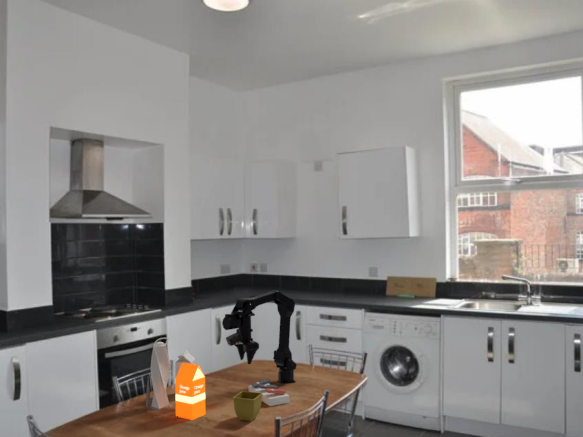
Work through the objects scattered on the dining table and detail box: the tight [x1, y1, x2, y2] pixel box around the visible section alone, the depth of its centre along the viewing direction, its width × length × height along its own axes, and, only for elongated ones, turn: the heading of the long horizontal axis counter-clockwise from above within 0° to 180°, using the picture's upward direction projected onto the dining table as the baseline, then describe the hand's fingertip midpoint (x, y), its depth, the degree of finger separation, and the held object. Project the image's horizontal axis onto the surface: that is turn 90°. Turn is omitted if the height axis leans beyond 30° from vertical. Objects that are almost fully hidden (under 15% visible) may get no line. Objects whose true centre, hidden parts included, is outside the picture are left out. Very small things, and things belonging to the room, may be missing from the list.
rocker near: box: [251, 378, 272, 388], centre depth 235 cm, size 8×4×1 cm, turn 118°
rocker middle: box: [258, 384, 280, 389], centre depth 229 cm, size 8×4×1 cm, turn 118°
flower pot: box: [232, 390, 263, 422], centre depth 203 cm, size 9×9×9 cm
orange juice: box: [175, 363, 206, 421], centre depth 208 cm, size 8×9×20 cm
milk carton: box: [174, 349, 197, 390], centre depth 235 cm, size 7×7×19 cm
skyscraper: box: [145, 337, 170, 411], centre depth 219 cm, size 8×8×28 cm
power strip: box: [248, 383, 290, 407], centre depth 231 cm, size 9×28×3 cm, turn 28°
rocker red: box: [265, 388, 287, 394], centre depth 223 cm, size 8×4×1 cm, turn 118°
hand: (245, 361), depth 237 cm, fingers open, 9 cm apart
